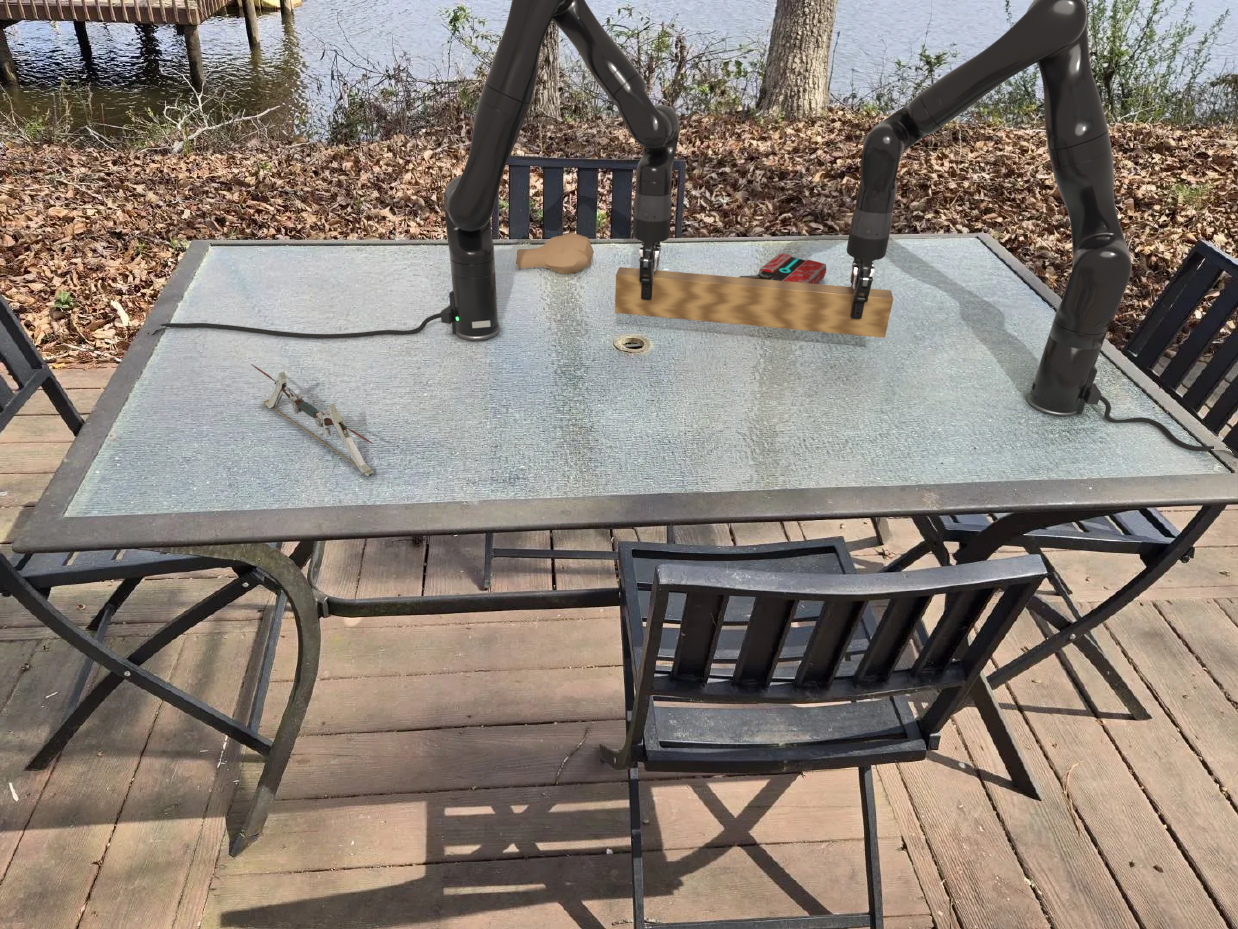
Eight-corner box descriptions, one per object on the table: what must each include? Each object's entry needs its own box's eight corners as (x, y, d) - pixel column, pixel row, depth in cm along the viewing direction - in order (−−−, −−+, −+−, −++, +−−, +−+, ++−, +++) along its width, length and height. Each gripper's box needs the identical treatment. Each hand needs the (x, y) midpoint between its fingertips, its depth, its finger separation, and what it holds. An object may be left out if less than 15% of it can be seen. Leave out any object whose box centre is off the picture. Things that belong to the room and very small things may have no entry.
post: (614, 313, 185) (615, 274, 180) (618, 304, 188) (619, 266, 184) (884, 337, 178) (893, 298, 174) (882, 329, 182) (891, 290, 177)
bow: (384, 479, 145) (376, 427, 139) (374, 483, 144) (366, 432, 138) (264, 397, 166) (253, 350, 161) (255, 401, 165) (244, 353, 160)
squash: (595, 277, 221) (590, 246, 215) (517, 285, 222) (510, 253, 216) (596, 255, 229) (591, 224, 223) (520, 262, 230) (514, 231, 224)
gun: (708, 284, 207) (784, 305, 199) (760, 245, 229) (831, 262, 221) (706, 302, 209) (781, 323, 201) (758, 261, 231) (828, 278, 223)
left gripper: (666, 226, 168) (661, 309, 177) (674, 204, 180) (669, 283, 189) (627, 223, 169) (624, 306, 178) (638, 201, 181) (635, 280, 190)
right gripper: (893, 244, 163) (876, 329, 173) (885, 220, 175) (870, 301, 184) (852, 241, 164) (838, 326, 173) (847, 218, 176) (834, 298, 185)
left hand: (648, 294), depth 184 cm, fingers closed on post, 4 cm apart
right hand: (854, 312), depth 179 cm, fingers closed on post, 4 cm apart
